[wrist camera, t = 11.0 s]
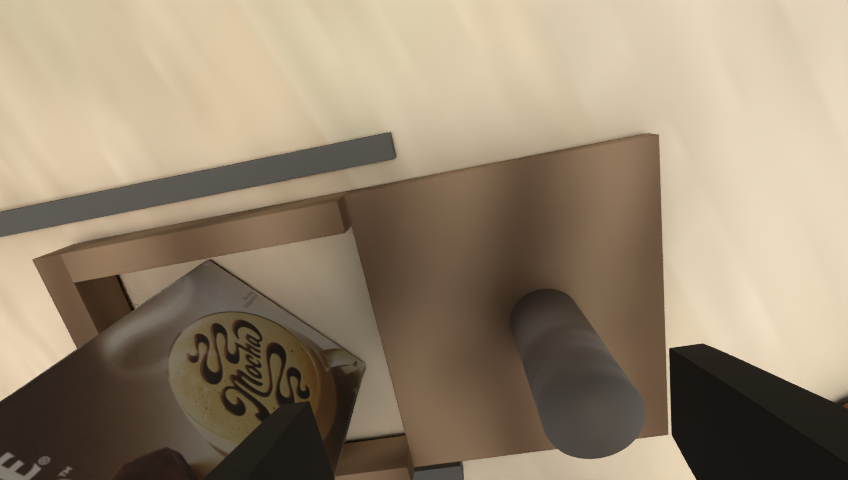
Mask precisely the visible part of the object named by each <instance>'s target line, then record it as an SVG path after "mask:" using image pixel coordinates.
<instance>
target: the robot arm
mask: <svg viewBox="0 0 848 480" xmlns="http://www.w3.org/2000/svg"><path fill="white" fill-rule="evenodd" d="M669 357H670V392H671V428H672V436H673V438H674V440H675V442H676V444H677V445H678V447H679V449H680V451H681V453H682V455H683V457H684V458H685V460H686V462H687V464H688V466H689V467H690V469H691V471H692V473H693V474H694V476H695V478H696V480H848V408H846V407H843V406H841V405H839V404H836V403H834V402H832V401H830V400H828V399H825V398H823V397H821V396H819V395H816V394H814V393H812V392H810V391H808V390H805V389H803V388H801V387H799V386H797V385H795V384H792V383H790V382H788V381H786V380H784V379H781V378H779V377H777V376H775V375H773V374H771V373H768V372H766V371H764V370H762V369H760V368H758V367H755V366H753V365H751V364H749V363H747V362H745V361H742V360H740V359H738V358H736V357H734V356H731V355H729V354H727V353H725V352H722V351H720V350H718V349H715V348H713V347H710V346H708V345H705V344H696V345H689V346H682V347H675V348H669ZM203 480H335V477H334V474H333V471H332V468H331V465H330V462H329V459H328V456H327V452H326V449H325V446H324V443H323V440H322V437H321V434H320V431H319V428H318V425H317V422H316V419H315V416H314V413H313V410H312V407H311V404H310V401H305V402H298V403H291V404H284V405H281V406H280V407H279V408H277V409H276V410H275V411H274V412H273V413H272V414H270V415H269V416H268V417H267V418H266V419H265V420H264V421H263V422H262V423H261V424H260V425H259V426H258V427H257V428H256V429H254V430H253V431H252V432H251V433H250V434H249V435H248V436H247V437H246V438H245V439H244V440H243V441H242V442H241V443H240V444H239V445H238V446H237V447H236V448H235V449H234V450H233V451H232V452H231V453H230V454H229V455H228V456H227V457H225V458H224V459H223V460H222V461H221V462H220V463H219V464H218V465H217V466H216V467H215V468H214V469H213V470H212V471H211V472H210V473H209V474H208V475H207V476H206V477H205V478H204V479H203Z"/></svg>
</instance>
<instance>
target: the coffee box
mask: <svg viewBox="0 0 848 480" xmlns="http://www.w3.org/2000/svg"><path fill="white" fill-rule="evenodd" d="M365 369H366V367H365V364H364V363H363V362H362V361H360V360H359V359H357V358H356V357H354V356H353V355H351V354H350V353H348V352H347V351H345V350H344V349H342V348H341V347H339V346H338V345H336V344H335V343H333V342H332V341H330V340H329V339H327V338H326V337H324V336H323V335H321V334H320V333H318V332H317V331H315V330H314V329H312V328H311V327H309V326H308V325H306V324H305V323H303V322H302V321H300V320H299V319H297V318H296V317H294V316H293V315H291V314H290V313H288V312H286V311H285V310H283V309H282V308H280V307H279V306H277V305H276V304H274V303H273V302H271V301H270V300H268V299H267V298H265V297H264V296H262V295H261V294H259V293H258V292H256V291H255V290H253V289H252V288H250V287H249V286H247V285H246V284H244V283H243V282H241V281H240V280H238V279H237V278H235V277H233V276H232V275H230V274H229V273H227V272H226V271H224V270H223V269H221V268H220V267H218V266H217V265H215V264H214V263H212V262H211V261H205V262H204V263H202V264H200V265H199V266H197V267H196V268H195V269H193V270H192V271H190V272H189V273H187V274H186V275H184V276H183V277H181V278H180V279H178V280H177V281H175V282H174V283H172V284H171V285H170V286H168V287H167V288H165V289H164V290H163V291H161V292H160V293H158V294H156V295H155V296H153V297H152V298H150V299H149V300H147V301H146V302H144V303H143V304H142V305H140V306H139V307H138V308H136V309H135V310H133V311H132V312H131V313H129V314H128V315H126V316H125V317H123V318H122V319H120V320H119V321H117V322H116V323H114V324H113V325H111V326H110V327H108V328H107V329H106V330H104V331H103V332H101V333H100V334H98V335H97V336H96V337H94V338H93V339H91V340H90V341H88V342H87V343H85V344H84V345H83V346H81V347H80V348H78V349H76V350H75V351H73V352H72V353H71V354H69V355H68V356H66V357H65V358H63V359H62V360H60V361H59V362H58V363H56V364H55V365H53V366H52V367H50V368H49V369H47V370H46V371H44V372H43V373H42V374H40V375H39V376H37V377H36V378H34V379H33V380H31V381H30V382H29V383H27V384H26V385H24V386H23V387H21V388H20V389H18V390H17V391H15V392H14V393H12V394H11V395H9V396H8V397H6V398H5V399H3V400H2V401H0V480H203V479H204V478H205V477H206V476H207V475H208V474H209V473H210V472H211V471H212V470H213V469H214V468H215V467H216V466H217V465H218V464H219V463H220V462H221V461H222V460H223V459H224V458H225V457H227V456H228V455H229V454H230V453H231V452H232V451H233V450H234V449H235V448H236V447H237V446H238V445H239V444H240V443H241V442H242V441H243V440H244V439H245V438H246V437H247V436H248V435H249V434H250V433H251V432H252V431H253V430H254V429H256V428H257V427H258V426H259V425H260V424H261V423H262V422H263V421H264V420H265V419H266V418H267V417H268V416H269V415H270V414H272V413H273V412H274V411H275V410H276V409H277V408H279V407H280V406H281V405H284V404H291V403H298V402H305V401H310V404H311V407H312V410H313V413H314V416H315V419H316V422H317V425H318V428H319V431H320V434H321V437H322V440H323V443H324V446H325V449H326V452H327V456H328V459H329V462H330V465H331V468H332V471H333V474H334V477H335V474H336V470H337V466H338V463H339V459H340V456H341V452H342V449H343V446H344V442H345V439H346V435H347V431H348V428H349V424H350V420H351V417H352V413H353V409H354V405H355V402H356V398H357V395H358V391H359V387H360V384H361V380H362V377H363V374H364V372H365Z"/></svg>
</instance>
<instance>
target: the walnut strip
mask: <svg viewBox="0 0 848 480" xmlns="http://www.w3.org/2000/svg"><path fill="white" fill-rule="evenodd" d="M351 225H352V229H353V232H354V236H355V240H356V244H357V248H358V252H359V256H360V260H361V263H362V267H363V271H364V275H365V279H366V283H367V287H368V291H369V294H370V298H371V302H372V306H373V310H374V314H375V318H376V322H377V325H378V329H379V333H380V337H381V341H382V345H383V349H384V353H385V356H386V360H387V364H388V368H389V372H390V376H391V380H392V384H393V387H394V391H395V395H396V399H397V403H398V407H399V411H400V415H401V418H402V422H403V426H404V430H405V434H406V436H399V437H391V438H384V439H376V440H369V441H362V442H354V443H347V444H344V446H343V449H342V452H341V456H340V459H339V463H338V466H337V470H336V474H335V480H413V475H414V467H419V466H427V465H434V464H442V463H450V462H458V461H466V460H474V459H481V458H489V457H497V456H505V455H513V454H521V453H529V452H536V451H544V450H552V449H558V450H560V451H561V452H563V453H565V454H567V455H570V456H573V457H577V458H583V459H596V458H603V457H607V456H610V455H613V454H615V453H618V452H619V451H621V450H623V449H625V448H626V447H628V446H629V445H630V444H631V443H632V442H633V441H634V440H635V439H639V438H646V437H654V436H662V435H668V412H667V380H666V348H665V316H664V284H663V252H662V220H661V188H660V156H659V135H658V134H650V133H648V134H643V135H638V136H632V137H627V138H622V139H617V140H612V141H606V142H601V143H596V144H591V145H586V146H580V147H575V148H570V149H565V150H560V151H555V152H549V153H544V154H539V155H534V156H529V157H523V158H518V159H513V160H508V161H503V162H497V163H492V164H487V165H482V166H477V167H472V168H466V169H461V170H456V171H451V172H446V173H440V174H435V175H430V176H425V177H420V178H415V179H409V180H404V181H399V182H394V183H389V184H383V185H378V186H373V187H368V188H363V189H357V190H352V191H347V192H342V193H337V194H332V195H326V196H321V197H316V198H311V199H306V200H300V201H295V202H290V203H285V204H280V205H274V206H269V207H264V208H259V209H254V210H249V211H243V212H238V213H233V214H228V215H223V216H217V217H212V218H207V219H202V220H197V221H191V222H186V223H181V224H176V225H171V226H166V227H160V228H155V229H150V230H145V231H140V232H134V233H129V234H124V235H119V236H114V237H109V238H103V239H98V240H93V241H88V242H83V243H77V244H73V245H70V246H68V247H65V248H62V249H60V250H57V251H54V252H51V253H49V254H46V255H43V256H41V257H38V258H35V259H33V262H34V264H35V266H36V268H37V270H38V272H39V274H40V276H41V278H42V280H43V282H44V284H45V286H46V288H47V290H48V292H49V294H50V296H51V298H52V300H53V302H54V304H55V306H56V308H57V310H58V312H59V314H60V316H61V317H62V319H63V321H64V323H65V325H66V327H67V329H68V331H69V333H70V335H71V337H72V339H73V341H74V343H75V345H76V347H77V349H78V348H80V347H81V346H83V345H84V344H85V343H87V342H88V341H90V340H91V339H93V338H94V337H96V336H97V335H98V334H100V333H101V332H103V331H104V330H106V329H107V328H108V327H110V326H111V325H113V324H114V323H116V322H117V321H119V320H120V319H122V318H123V317H125V316H126V315H128V314H129V313H131V312H132V311H131V309H130V307H129V305H128V302H127V300H126V298H125V296H124V293H123V291H122V289H121V287H120V284H119V282H118V280H117V278H116V276H115V275H118V274H124V273H129V272H135V271H140V270H146V269H151V268H157V267H162V266H167V265H173V264H178V263H184V262H189V261H195V260H200V259H206V258H211V257H217V256H222V255H227V254H233V253H238V252H244V251H249V250H255V249H260V248H266V247H271V246H277V245H282V244H287V243H293V242H298V241H304V240H309V239H315V238H320V237H326V236H331V235H337V234H342V233H345V232H346V231H347V230H348V229H349V227H350V226H351Z"/></svg>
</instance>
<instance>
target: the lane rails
mask: <svg viewBox="0 0 848 480" xmlns="http://www.w3.org/2000/svg"><path fill="white" fill-rule="evenodd" d="M395 157H396V153H395V149H394V144H393V139H392V135H391V132H389V133H384V134H379V135H374V136H369V137H364V138H359V139H355V140H350V141H345V142H340V143H335V144H330V145H325V146H320V147H315V148H311V149H306V150H301V151H296V152H291V153H286V154H281V155H276V156H271V157H266V158H262V159H257V160H252V161H247V162H242V163H237V164H232V165H227V166H222V167H218V168H213V169H208V170H203V171H198V172H193V173H188V174H183V175H178V176H174V177H169V178H164V179H159V180H154V181H149V182H144V183H139V184H134V185H130V186H125V187H120V188H115V189H110V190H105V191H100V192H95V193H90V194H86V195H81V196H76V197H71V198H66V199H61V200H56V201H51V202H46V203H41V204H37V205H32V206H27V207H22V208H17V209H12V210H7V211H2V212H0V237H2V236H7V235H12V234H17V233H22V232H27V231H33V230H38V229H43V228H48V227H53V226H58V225H63V224H68V223H73V222H78V221H83V220H88V219H93V218H98V217H103V216H108V215H113V214H118V213H123V212H128V211H133V210H138V209H144V208H149V207H154V206H159V205H164V204H169V203H174V202H179V201H184V200H189V199H194V198H199V197H204V196H209V195H214V194H219V193H224V192H229V191H234V190H239V189H244V188H250V187H255V186H260V185H265V184H270V183H275V182H280V181H285V180H290V179H295V178H300V177H305V176H310V175H315V174H320V173H325V172H330V171H335V170H340V169H345V168H350V167H355V166H361V165H366V164H371V163H376V162H381V161H386V160H391V159H394V158H395ZM413 480H464V473H463V465H462V461H458V462H450V463H442V464H434V465H427V466H419V467H414V475H413Z"/></svg>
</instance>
